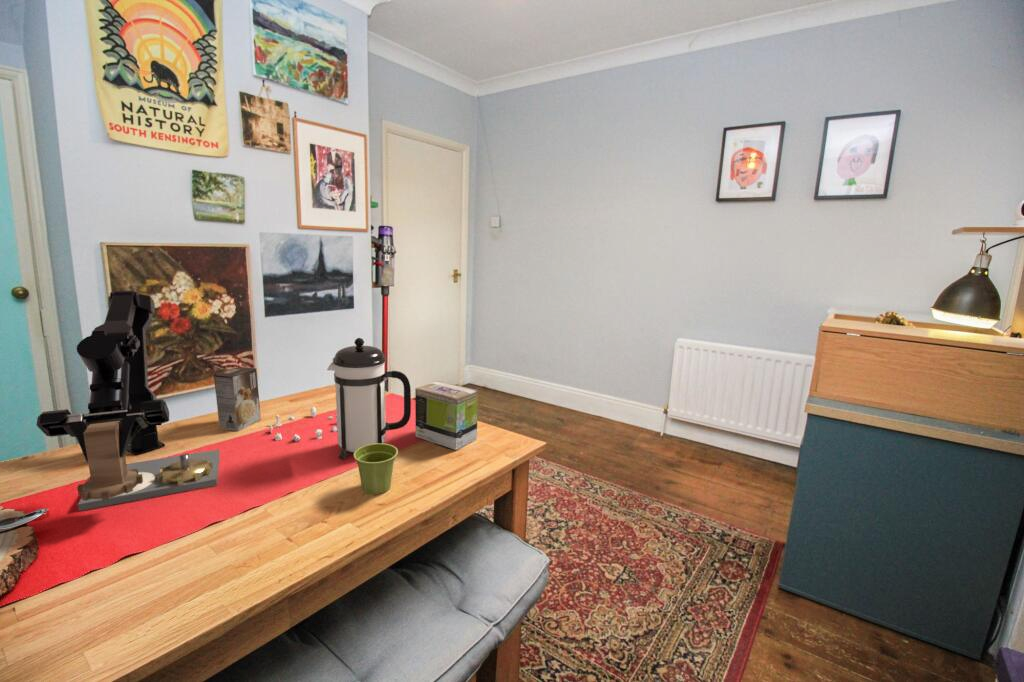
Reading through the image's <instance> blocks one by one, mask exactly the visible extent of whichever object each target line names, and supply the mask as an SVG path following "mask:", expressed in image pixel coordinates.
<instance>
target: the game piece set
mask: <svg viewBox="0 0 1024 682" xmlns="http://www.w3.org/2000/svg"><path fill="white" fill-rule="evenodd" d="M309 411H310V416H311V417H312V418H315V417H316V415H317V408H316V407H314V406H312V407H311V408H310V410H309ZM290 413H291V415H290V416H289V419H290V420H292V421H295V420H296V418H295V417H294V414H293V411H290ZM334 417H335V419H336V420H337V415H335V414H333V415H332V416H331V415H330V416H328V417H327V419H329V420H332V419H333V418H334ZM279 418H280V415H279V414H278V413H277V414H276V415H275V419H276V421H275V423H274V422H273V424H270V425H269V427H270V428H269V430H270V434H272V433H273V430H274V428H273V427H281V426H282V425H283V422H282V421H280V420H279ZM314 432H315V434H316V437H315V438H316V439H317V440H319V439H323V437H322V434H323V430H322V429H320V428H318V429H316V430H315V431H314ZM331 432H334V433H335V432H337V426H336V425H334V426H333V427H332V431H331ZM274 438H275V439H274V440H275V441H281V440H283V437H282V433H281V432H279V433H278V432H276V435H275V436H274ZM300 439H301V437H300V435H298V434H297V433H295V434H294V436H293V438H292V440H294V441H295V442H298V441H299V440H300Z"/></svg>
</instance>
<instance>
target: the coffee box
mask: <svg viewBox="0 0 1024 682" xmlns="http://www.w3.org/2000/svg"><path fill="white" fill-rule="evenodd" d="M213 379H214V387H215V389H214V390H215V399H216V406H217V408H216V409H217V417H218V426H219V429H221V430H229V431H235V432H239V431H241V430H243V429H245V428H247V427H249V426H250V425H251V426H252V424H255V423H256V422H259V421H261V420H262V416H261V405H260V404H261V403H260V395H259V384H258V373H257V368H256V367H243V366H236V367H234V368H230V369H227V370H224V371H220V372H217V373H215V374H213Z"/></svg>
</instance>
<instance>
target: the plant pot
mask: <svg viewBox="0 0 1024 682" xmlns="http://www.w3.org/2000/svg"><path fill="white" fill-rule="evenodd" d="M398 454H399V449H398V447H396V446H394V445H392V444H388V443H385V442H384V443H376V444H369V445H365V446H362V447H360V448H359V449H357V450H356V451H355V452H353V458H354V460H355V463H356V464H357V468H358V472H359V477H360V483H361V489H362V491H363V493H365V494H367V495H377V494H385V493H387V492H388V491H389V490H390V489H391V486H392V478H393V472H394V471H393V470H394V465H395V464H394V463H395V461H396V457H397V456H398Z"/></svg>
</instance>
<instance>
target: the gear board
mask: <svg viewBox="0 0 1024 682" xmlns="http://www.w3.org/2000/svg"><path fill="white" fill-rule="evenodd" d="M187 454H188V455H189V458H193V459H201V458H207V462H209V461H212V463H213V469H211V474H210V475H205V476H203V477H201V480H199V481H191V482H187V483H184V485H179V486H178V484H169V485H168V486H166V485H163V481H161V482H158V478H157V474H158V473H160V469H161V468H162V467H167V466H169V465H171V464H172V462H175V461H177V462H180V455H176V456H175V455H174V456H168V457H162V458H155V459H149V460H143V461H137V462H130V463H129V462H128V463H126V465H127V470H132V469H138V475H139V474H142V477H143V482H142V483H141V484H137V485H136V486H135V487H134V488H133V491H131V492H129V493H122V494H120V495H117V496H113V497H110V499H107V500H102V499H89V500H87V501H85V500H82V497H81V499H80V500H79V502H78V503H77V508H78V512H83V511H88V510H93V509H97V508H98V509H99V508H104V507H108V506H109V507H110V506H114V505H115V506H116V505H120V504H126V503H131V502H135V501H140V500H147V499H151V498H156V497H162V496H168V495H172V494H178V493H184V492H188V491H194V490H198V489H204V488H209V487H210V488H211V487H215V486H218V478H219V469H220V468H219V467H220V466H219V465H220V458H219V457H220V456H221V455H220V449H212V450H207V451H206V450H205V451H201V452H200V451H199V452H193V453H187Z"/></svg>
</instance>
